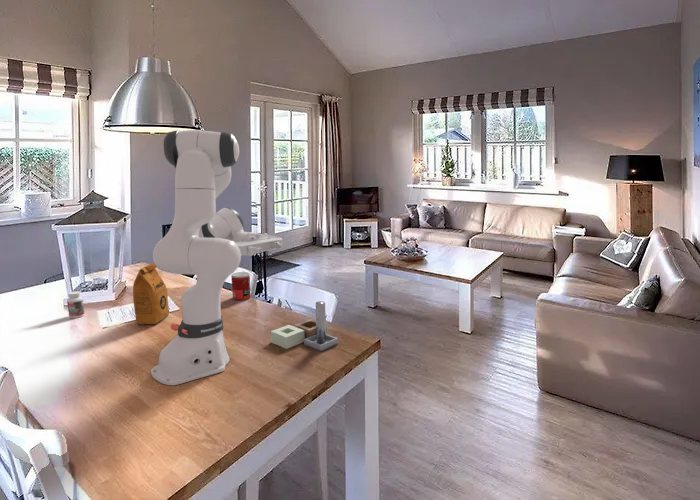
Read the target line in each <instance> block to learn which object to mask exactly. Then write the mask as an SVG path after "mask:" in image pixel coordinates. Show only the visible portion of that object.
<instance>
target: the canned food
mask: <svg viewBox="0 0 700 500" xmlns="http://www.w3.org/2000/svg"><path fill="white" fill-rule="evenodd" d="M230 276H231V290H232V291H231V292H232V298H233V300H235V301H241V302H242V301H246V300H249V299H251V295H252V293H251V278H250V277H251V275H250V273H249V272H246V271H239V272H233V273H232V274H231V275H230Z"/></svg>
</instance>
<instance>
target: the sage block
mask: <svg viewBox="0 0 700 500" xmlns="http://www.w3.org/2000/svg"><path fill="white" fill-rule="evenodd" d="M270 338H271V339H270V342H271V343H272V344H275V345H276V346H280V347H282V348H283V349H287V350H288V349H290V348H292V347H295V346H298V345H300V344H302V343H304V339H305V335H304V330H302V329H299V328H297V327H294V325H290V324H287V325H284V326H282V327H279V328H276V329H273V330H270Z"/></svg>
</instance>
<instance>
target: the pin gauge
mask: <svg viewBox="0 0 700 500" xmlns="http://www.w3.org/2000/svg"><path fill="white" fill-rule="evenodd" d="M326 314H327V313H326V302H325V301H322V300H321V301H320V300H319V301H316V302H315V320H316V343H318V344H320V345H321V344H324V343H326V333H327V323H326V321H327V320H326V319H327V318H326V317H327V315H326Z"/></svg>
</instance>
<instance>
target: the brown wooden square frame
mask: <svg viewBox="0 0 700 500" xmlns="http://www.w3.org/2000/svg"><path fill="white" fill-rule="evenodd" d="M293 326H294V327H297V328H299V329H302V330H304V335H305V339H306V338H308V337H311V336H313V335H316V319H313V318H310V319H307V320H304V321H301V322H298V323H296V324H294V325H293ZM326 334H327V335H328V333H327V332H326Z"/></svg>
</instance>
